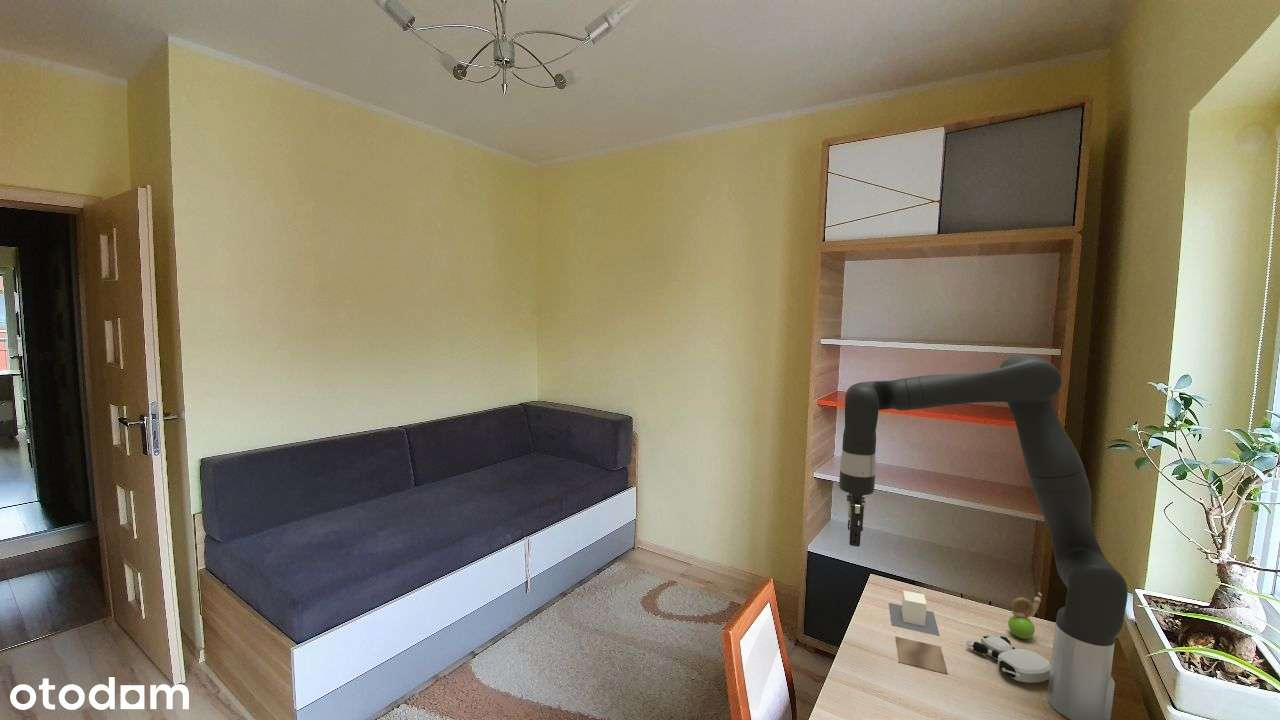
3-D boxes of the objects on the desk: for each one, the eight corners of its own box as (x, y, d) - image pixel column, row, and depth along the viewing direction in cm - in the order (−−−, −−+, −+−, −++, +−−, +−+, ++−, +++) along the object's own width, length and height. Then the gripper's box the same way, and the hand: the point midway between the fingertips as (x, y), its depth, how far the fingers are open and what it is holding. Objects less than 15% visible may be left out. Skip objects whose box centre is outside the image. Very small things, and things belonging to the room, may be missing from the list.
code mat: (933, 613, 141) (933, 611, 141) (939, 637, 131) (939, 636, 131) (888, 603, 145) (888, 602, 145) (891, 626, 135) (891, 625, 135)
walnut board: (940, 647, 127) (940, 646, 127) (947, 674, 118) (947, 673, 117) (895, 637, 130) (895, 636, 130) (898, 662, 121) (898, 661, 121)
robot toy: (961, 653, 126) (1021, 694, 112) (961, 635, 126) (1021, 674, 112) (1001, 645, 129) (1064, 684, 115) (1001, 627, 129) (1065, 664, 115)
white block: (922, 615, 139) (924, 594, 138) (924, 626, 135) (926, 604, 134) (901, 611, 141) (903, 590, 140) (903, 621, 136) (905, 600, 136)
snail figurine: (1042, 645, 128) (1048, 599, 127) (1014, 642, 129) (1019, 596, 128) (1030, 631, 134) (1034, 587, 132) (1002, 628, 135) (1007, 584, 133)
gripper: (878, 482, 112) (873, 554, 113) (872, 463, 125) (868, 527, 127) (840, 478, 114) (837, 548, 116) (839, 459, 127) (835, 523, 129)
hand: (853, 537), depth 121 cm, fingers open, 8 cm apart
